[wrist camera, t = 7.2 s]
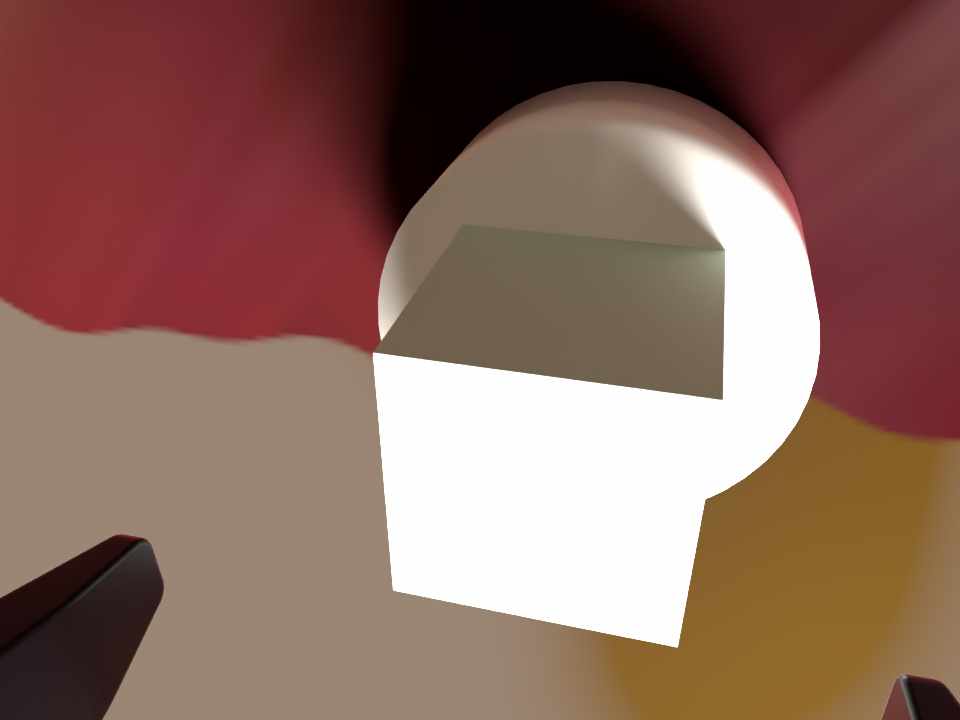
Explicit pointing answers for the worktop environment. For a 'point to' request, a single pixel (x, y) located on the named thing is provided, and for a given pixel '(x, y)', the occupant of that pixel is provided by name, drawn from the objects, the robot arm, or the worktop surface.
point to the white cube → (554, 427)
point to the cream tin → (645, 229)
